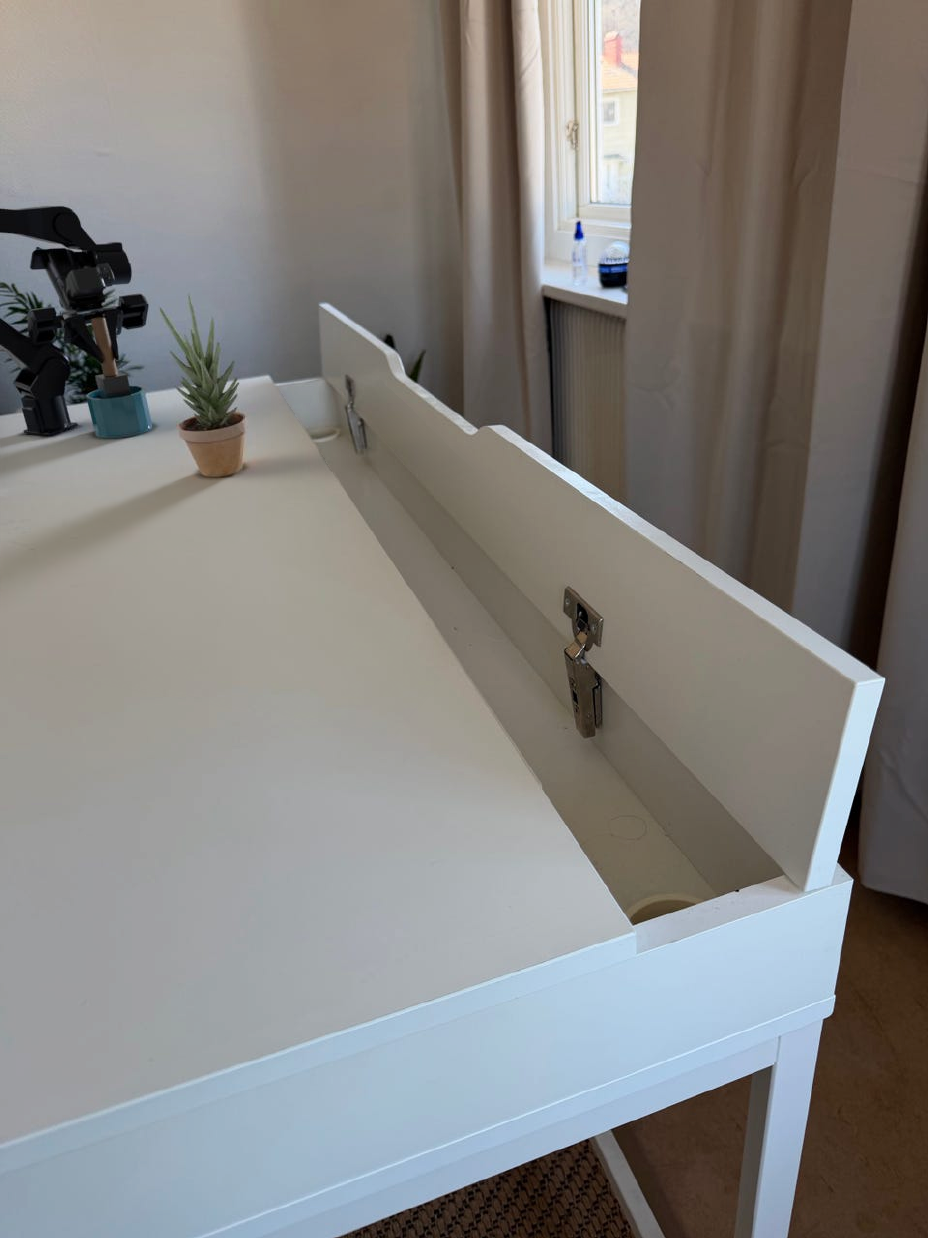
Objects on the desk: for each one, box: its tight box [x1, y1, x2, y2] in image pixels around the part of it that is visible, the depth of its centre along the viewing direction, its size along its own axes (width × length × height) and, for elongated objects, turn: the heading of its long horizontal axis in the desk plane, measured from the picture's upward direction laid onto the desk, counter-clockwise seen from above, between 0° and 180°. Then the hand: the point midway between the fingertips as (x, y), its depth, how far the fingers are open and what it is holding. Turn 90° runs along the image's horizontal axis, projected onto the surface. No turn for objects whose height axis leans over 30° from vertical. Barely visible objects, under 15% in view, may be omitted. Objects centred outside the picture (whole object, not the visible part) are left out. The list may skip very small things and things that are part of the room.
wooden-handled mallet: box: [91, 317, 132, 399], centre depth 153 cm, size 4×4×13 cm
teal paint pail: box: [85, 384, 153, 439], centre depth 157 cm, size 9×9×6 cm
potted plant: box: [158, 292, 249, 478], centre depth 130 cm, size 10×10×25 cm
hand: (110, 360), depth 152 cm, fingers closed on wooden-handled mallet, 2 cm apart
